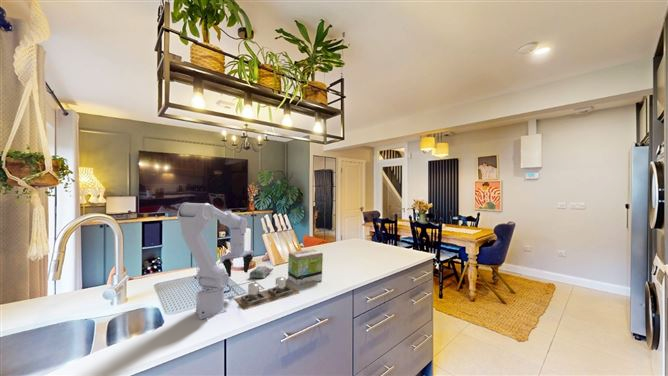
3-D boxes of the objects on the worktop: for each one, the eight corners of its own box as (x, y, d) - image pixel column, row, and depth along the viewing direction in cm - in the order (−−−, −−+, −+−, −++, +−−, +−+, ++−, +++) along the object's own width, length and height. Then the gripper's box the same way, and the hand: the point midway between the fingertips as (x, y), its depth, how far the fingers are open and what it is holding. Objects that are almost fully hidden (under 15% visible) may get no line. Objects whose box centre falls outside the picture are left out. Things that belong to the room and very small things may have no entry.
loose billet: (249, 302, 103) (249, 287, 103) (246, 298, 107) (247, 283, 107) (260, 299, 105) (260, 285, 105) (257, 295, 109) (257, 281, 109)
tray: (238, 298, 109) (238, 295, 109) (229, 289, 119) (229, 286, 119) (264, 291, 117) (264, 288, 117) (254, 283, 126) (254, 280, 126)
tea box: (297, 287, 122) (297, 257, 122) (287, 281, 130) (287, 252, 129) (322, 280, 131) (323, 252, 131) (311, 275, 139) (312, 248, 139)
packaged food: (273, 273, 141) (273, 264, 141) (264, 281, 130) (264, 271, 130) (258, 272, 143) (258, 264, 142) (248, 280, 131) (248, 271, 131)
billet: (278, 295, 110) (278, 281, 110) (273, 291, 113) (273, 278, 113) (287, 292, 113) (287, 279, 113) (282, 289, 116) (282, 276, 116)
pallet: (243, 313, 97) (243, 306, 97) (233, 302, 106) (233, 295, 106) (300, 296, 112) (300, 290, 112) (287, 287, 122) (287, 282, 122)
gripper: (225, 247, 105) (224, 280, 105) (257, 242, 115) (256, 272, 115) (218, 245, 110) (218, 276, 110) (249, 240, 120) (249, 268, 120)
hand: (237, 274), depth 113 cm, fingers open, 7 cm apart
